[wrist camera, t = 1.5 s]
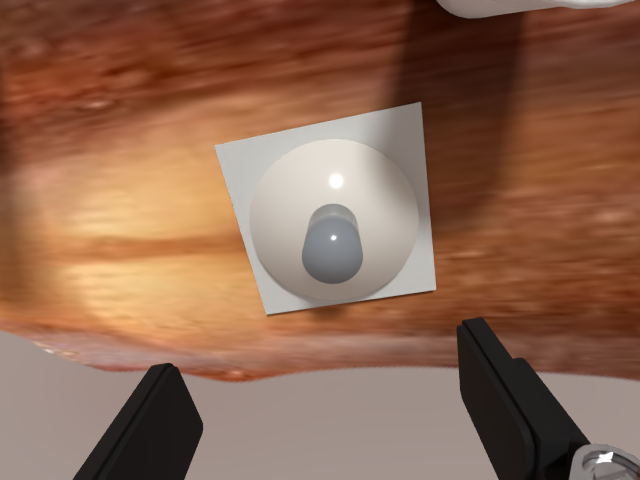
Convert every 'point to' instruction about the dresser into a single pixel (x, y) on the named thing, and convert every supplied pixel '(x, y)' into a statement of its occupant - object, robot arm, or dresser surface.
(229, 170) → the mat
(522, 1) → the cup
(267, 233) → the lid
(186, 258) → the dresser surface
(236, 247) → the dresser surface
